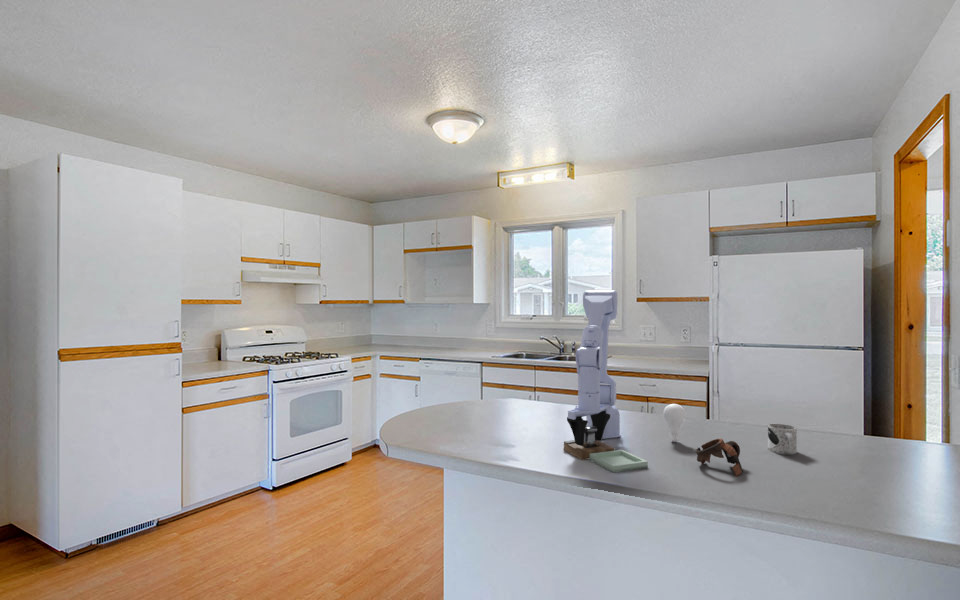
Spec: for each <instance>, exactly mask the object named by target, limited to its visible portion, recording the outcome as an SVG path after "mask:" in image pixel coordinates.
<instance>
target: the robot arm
mask: <svg viewBox="0 0 960 600" xmlns="http://www.w3.org/2000/svg"><path fill="white" fill-rule="evenodd" d="M582 306H583V309H584V313H585V316H586V318H587V319H588V320H587V321H588V323H587V324H588V325H587V326H585V327H584V328H583V330H582V336H581V341H580V346H579V348H577V349H576V352H575V363H576V365H575V366H576V374H577V375H578V376H577V378H578V379H577V405H575V408H573V409H571V410H567V417H566V421H567V422H568V424H569V427H570V429H571V432H572V434H573V438H574V439H573V440H575V443H576V444H577V445H580V446H583V444H584V434H585V428H586V425H591V426H596V427H597V432H595V440H599V441H601V442H602V440H605V439H612V438H621V437H622V435H621V433H620V432H621V431H620V429H621V428H620V423H621V417H620V415H621V414H620V411H619V409H618V407H617V406H616V403H617V386H616V385H617V383H616V380H615V379H614V378H613V377H611V375H609V374H608V354H609V350H608V349H609V330H610V328H609V327H610V325H611V321H612V320H615V319H616V318H617V315H618V292H617V291H616V290H615V289H613V290H588V289H587V290H586V289H585V290H584V291H583V294H582ZM584 417H585V418H586V420H585V419H584Z"/></svg>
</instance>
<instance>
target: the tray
mask: <svg viewBox="0 0 960 600" xmlns="http://www.w3.org/2000/svg"><path fill="white" fill-rule="evenodd" d="M589 460H590V461H592V462H594V463H595V464H597V465H599V466H601V467H603V468H604V469H606V470H608V471H610V472H611V473H619V472H627V471H633V470H640V469H647V468H649V467H648V466H649V464H648V461H647V460H646V459H643V458H641V457H639V456H637V455H635V454H632V453H630V452H628V451H625V450H623V449H617V450H615V451H607V452H599V453H591V454H590V459H589Z"/></svg>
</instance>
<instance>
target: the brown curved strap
mask: <svg viewBox="0 0 960 600" xmlns="http://www.w3.org/2000/svg"><path fill="white" fill-rule="evenodd" d="M694 452H695V454H696V455H697V456H696V461H697V462H699V463H701V464H702V465H704V464H705V463H706V462H707V463H711V456H713V457H716V458H719V459H724V458H726V462H727V463H729V464H732V465H733V466H732V467H731V469H732V471H733V473H734V476H735V477H737V476H740V475H741V474H742V473H743V472H744V470H743V467H742V464H741V461H740V459H739V457H740V454H741V448H740V446H739V444H738V443H737V442H736V441H734V440H730V441H727V442H724V439H723V438H716V439H713V440H712V439H711V440H710V441H708V442H705V443H704V444H702V445H701V448H700V447H697V448H696V449H695V451H694ZM723 453H724V455H723ZM724 456H725V457H724Z"/></svg>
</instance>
